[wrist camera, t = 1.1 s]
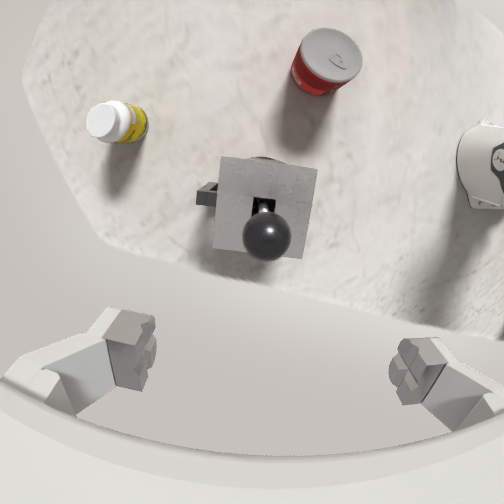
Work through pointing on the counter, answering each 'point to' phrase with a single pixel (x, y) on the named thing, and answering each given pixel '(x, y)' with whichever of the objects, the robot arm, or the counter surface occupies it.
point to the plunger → (266, 232)
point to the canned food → (326, 61)
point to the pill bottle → (117, 122)
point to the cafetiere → (264, 186)
